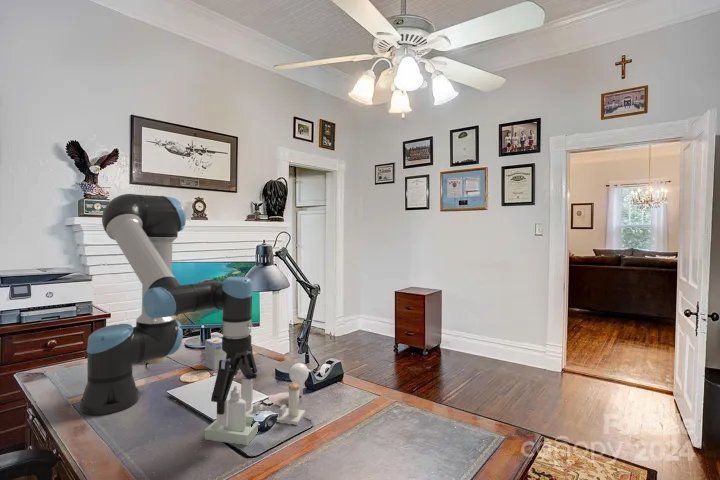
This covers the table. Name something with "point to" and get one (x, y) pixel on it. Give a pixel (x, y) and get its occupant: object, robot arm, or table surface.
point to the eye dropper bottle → (236, 412)
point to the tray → (232, 432)
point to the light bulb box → (214, 353)
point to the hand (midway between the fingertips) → (235, 412)
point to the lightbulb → (299, 375)
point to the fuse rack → (285, 414)
